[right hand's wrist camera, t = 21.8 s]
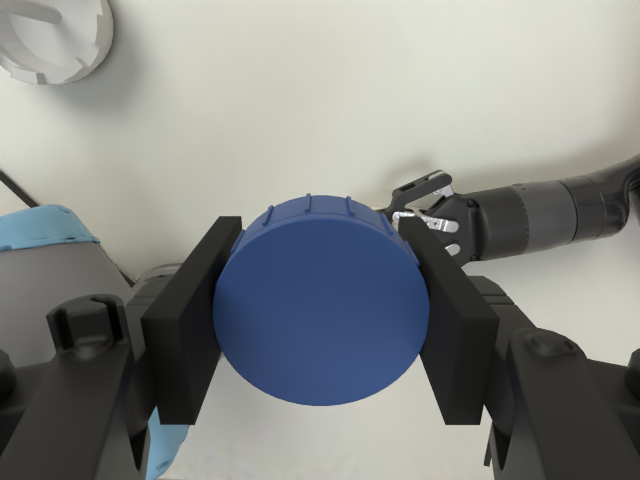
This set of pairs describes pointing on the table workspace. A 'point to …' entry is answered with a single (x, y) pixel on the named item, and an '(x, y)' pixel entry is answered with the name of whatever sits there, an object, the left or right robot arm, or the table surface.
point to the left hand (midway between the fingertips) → (360, 247)
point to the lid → (321, 302)
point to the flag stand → (54, 38)
